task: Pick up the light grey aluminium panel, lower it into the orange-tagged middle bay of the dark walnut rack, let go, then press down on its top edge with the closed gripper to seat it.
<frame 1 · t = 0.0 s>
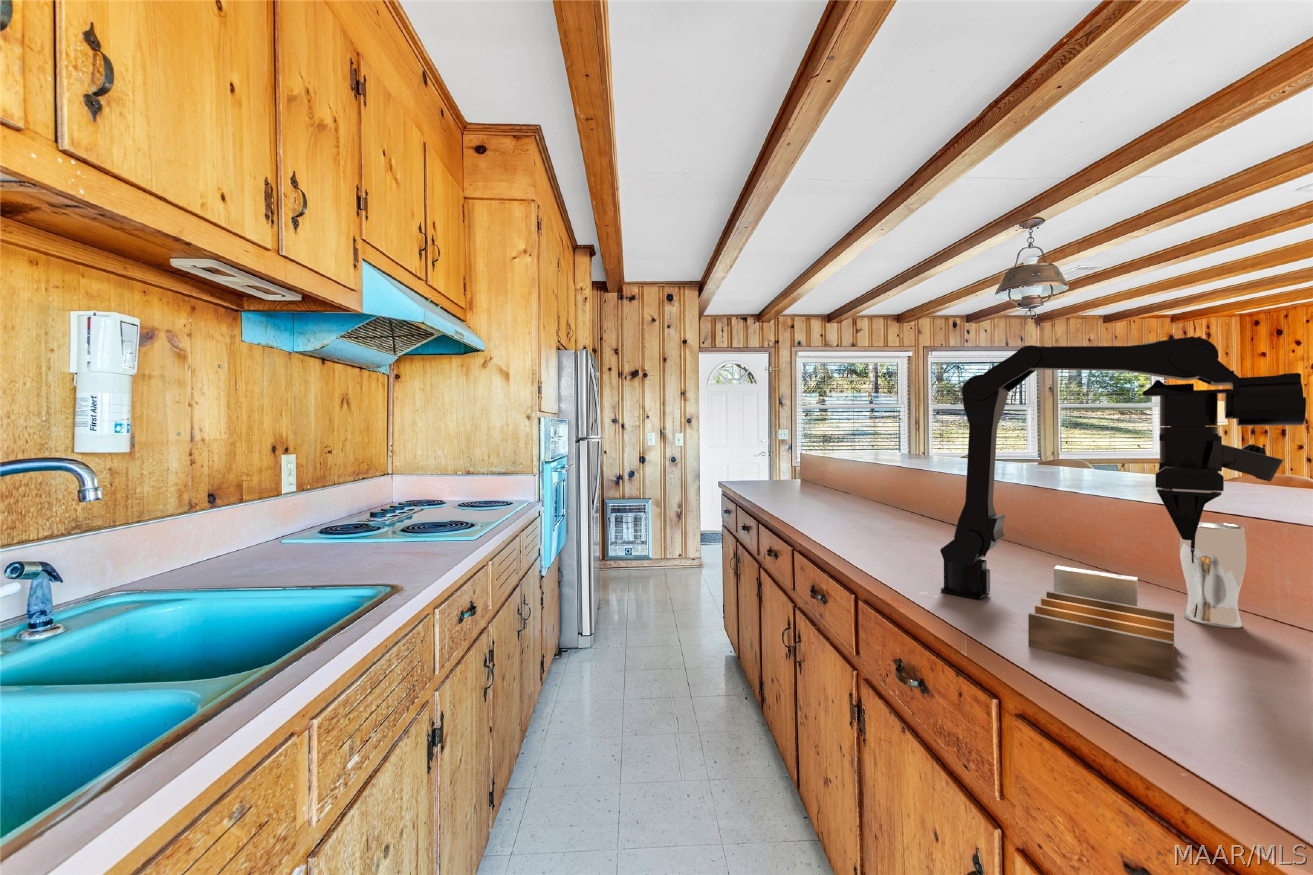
hand: (1187, 534, 72), 15 cm above the counter, tool pointing down, fingers open, 9 cm apart
beer glass: (1211, 622, 78), on the counter
walnut rack: (1101, 645, 70), on the counter
aluminium panel: (1094, 616, 81), on the counter
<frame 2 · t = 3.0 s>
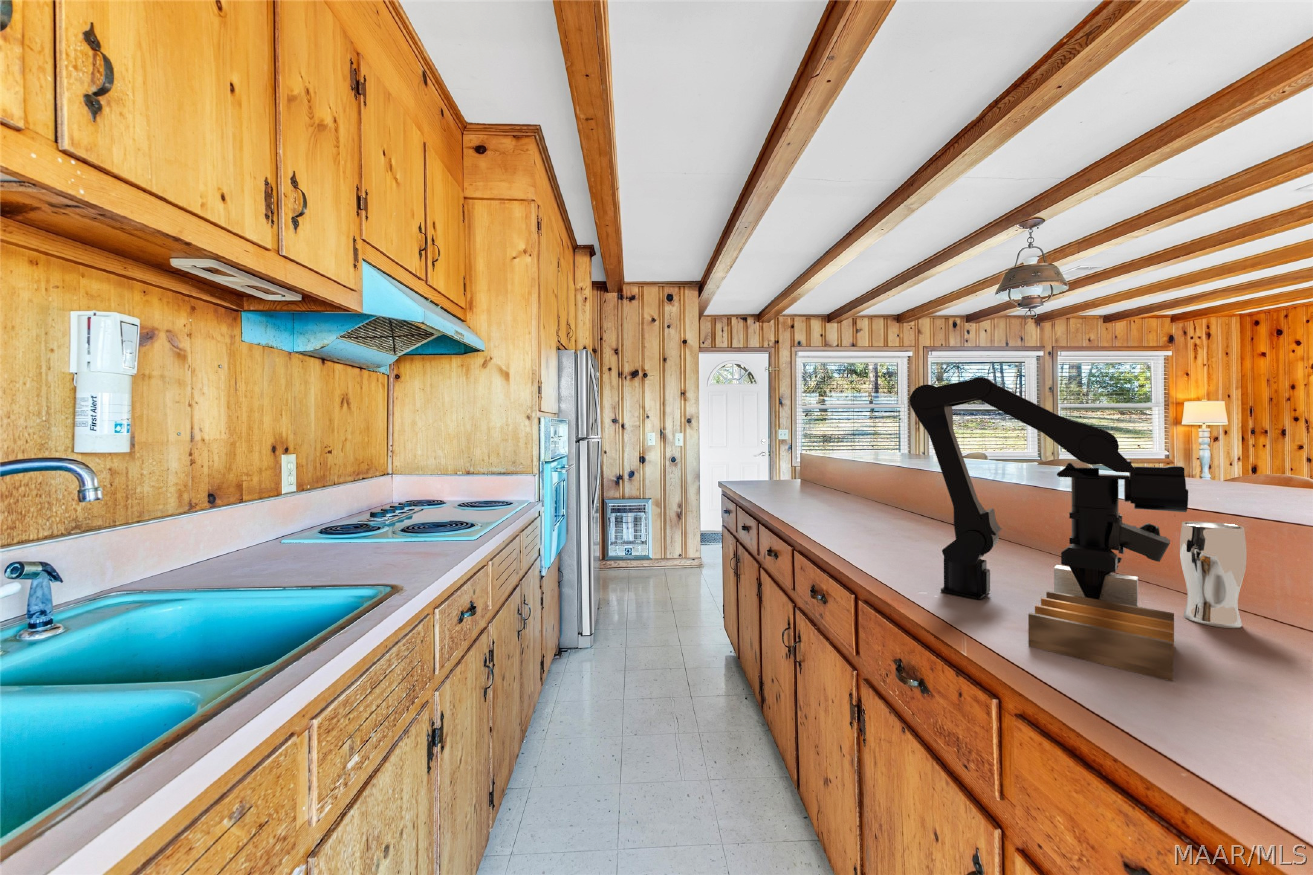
hand: (1094, 602, 81), 2 cm above the counter, tool pointing down, fingers closed on aluminium panel, 2 cm apart
aluminium panel: (1094, 615, 81), on the counter, touching gripper
everything else where it was.
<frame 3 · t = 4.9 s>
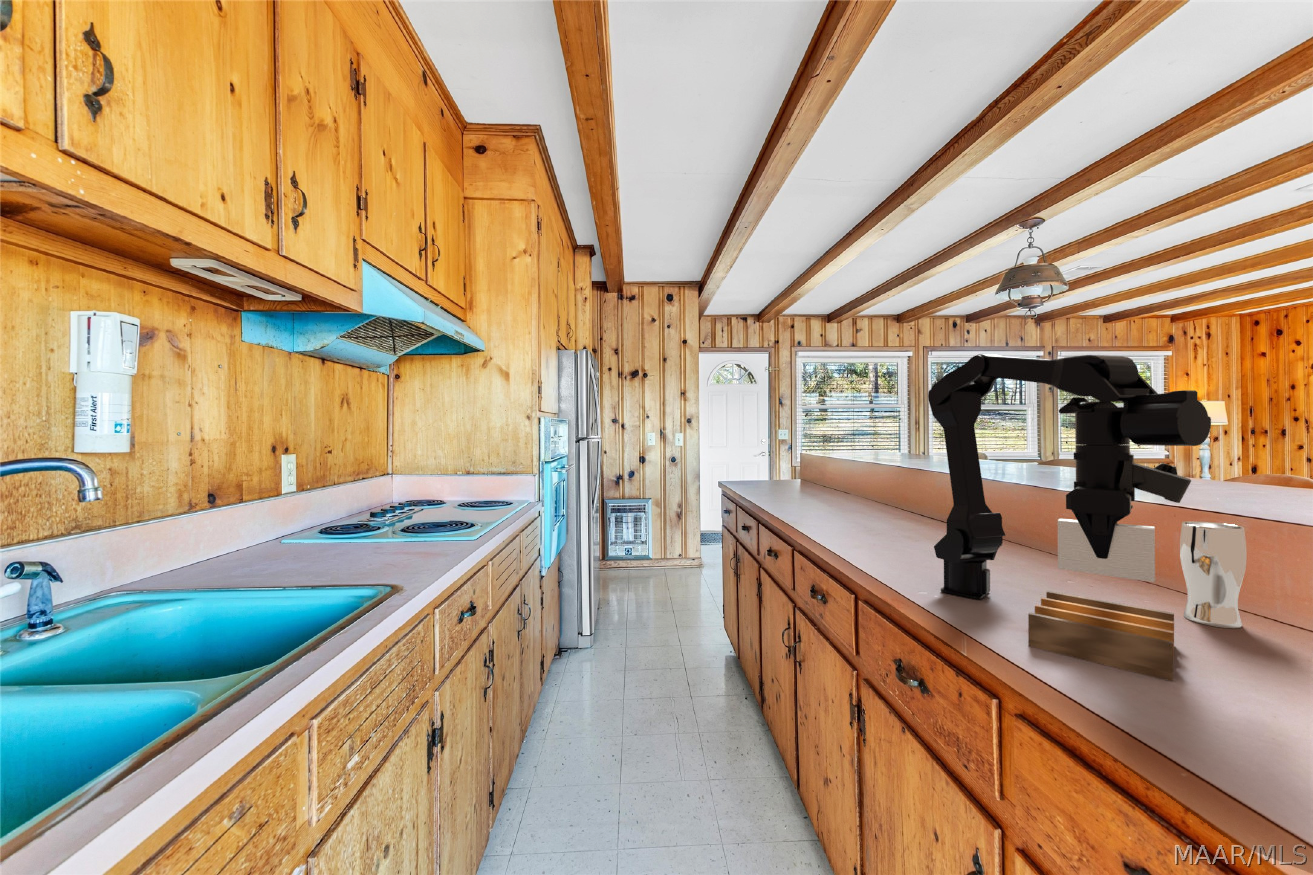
hand: (1102, 556, 71), 12 cm above the counter, tool pointing down, fingers closed on aluminium panel, 2 cm apart
aluminium panel: (1104, 573, 70), point 10 cm above the counter, touching gripper
everything else where it was.
when the fingers open (5 cm above the counter, at t = 6.8 s): aluminium panel drops 2 cm, resting on walnut rack.
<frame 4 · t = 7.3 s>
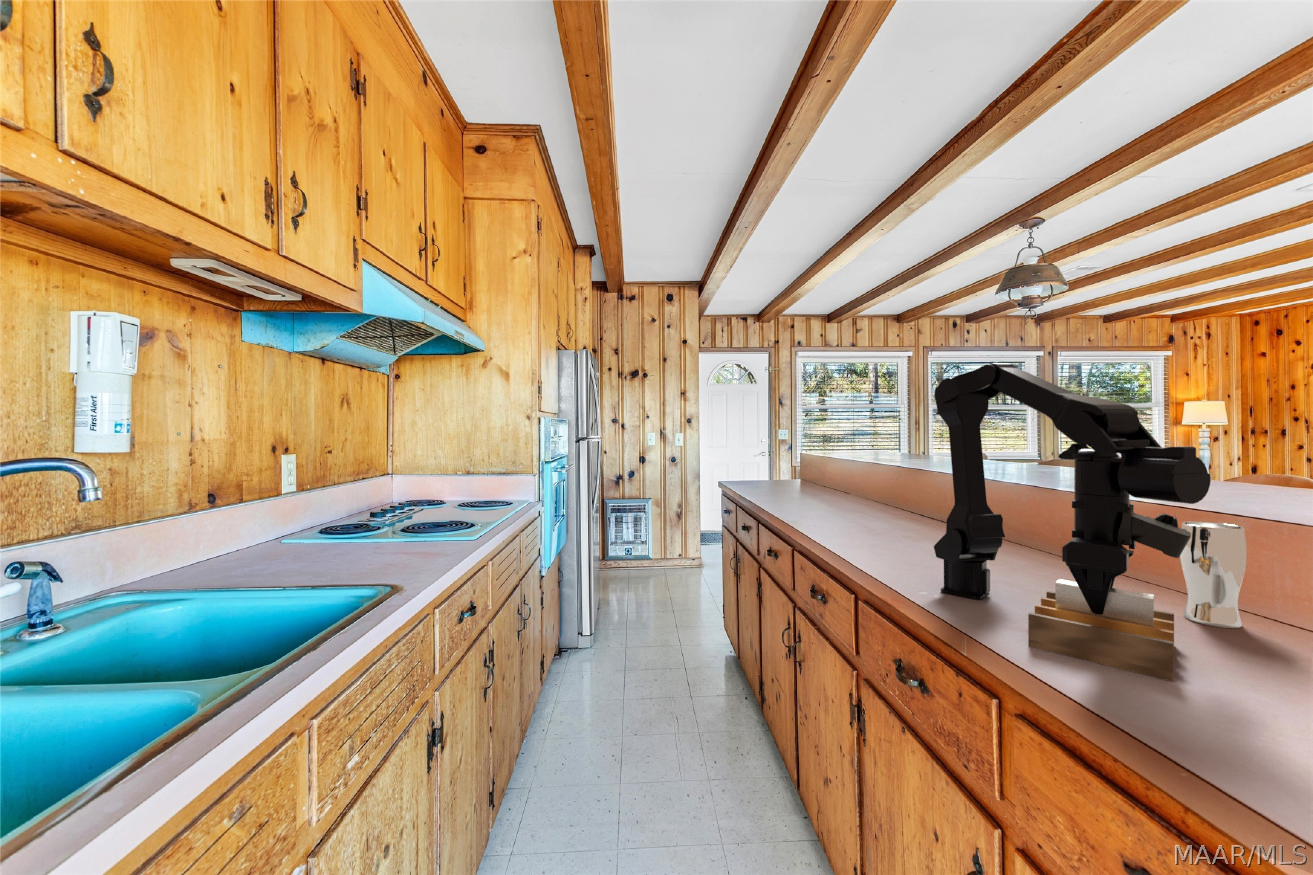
hand: (1100, 606, 70), 5 cm above the counter, tool pointing down, fingers open, 8 cm apart
aluminium panel: (1102, 638, 70), point 1 cm above the counter, touching walnut rack
everything else where it was.
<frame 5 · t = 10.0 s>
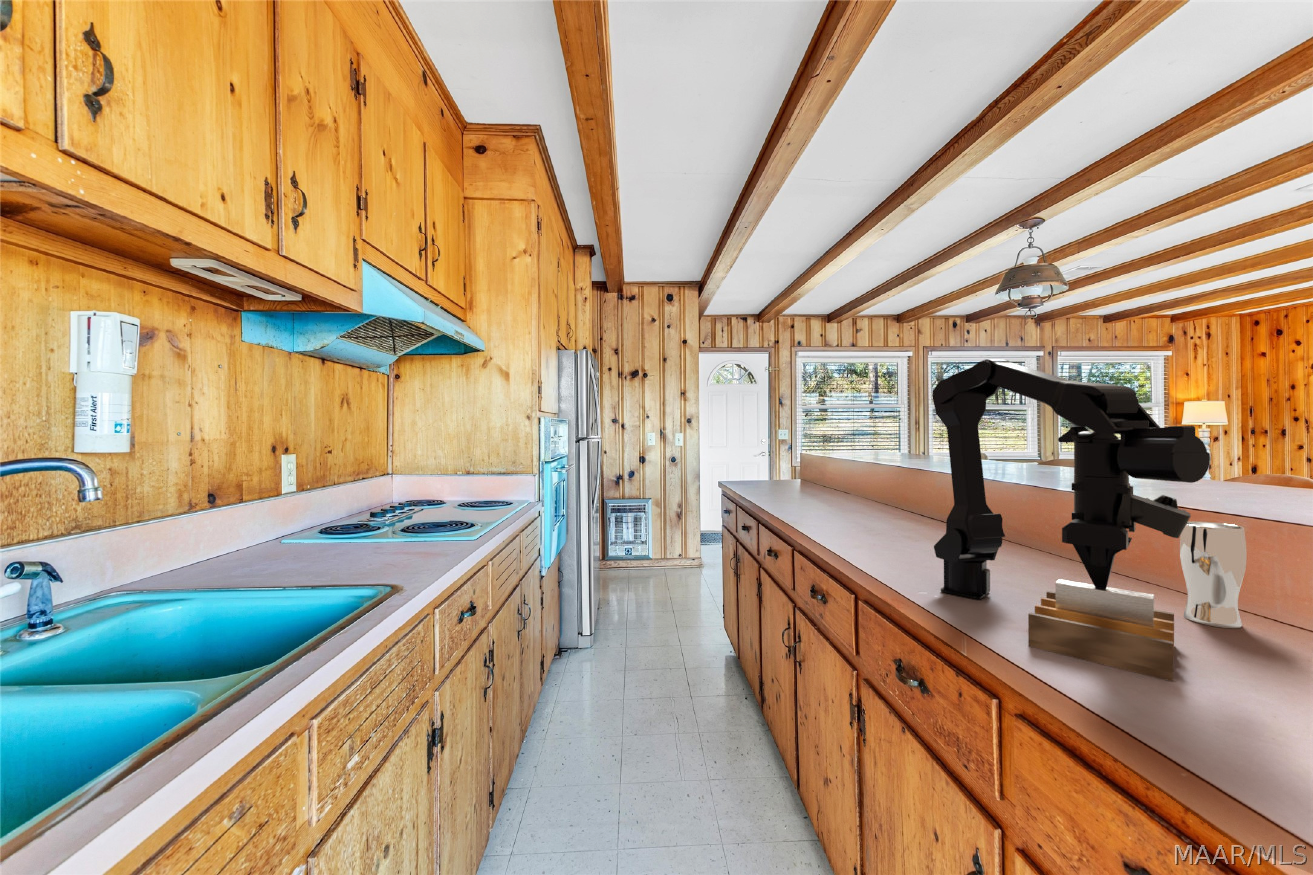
hand: (1100, 588, 70), 8 cm above the counter, tool pointing down, fingers closed, pressing on aluminium panel
aluminium panel: (1102, 638, 70), point 1 cm above the counter, touching gripper, walnut rack
everything else where it was.
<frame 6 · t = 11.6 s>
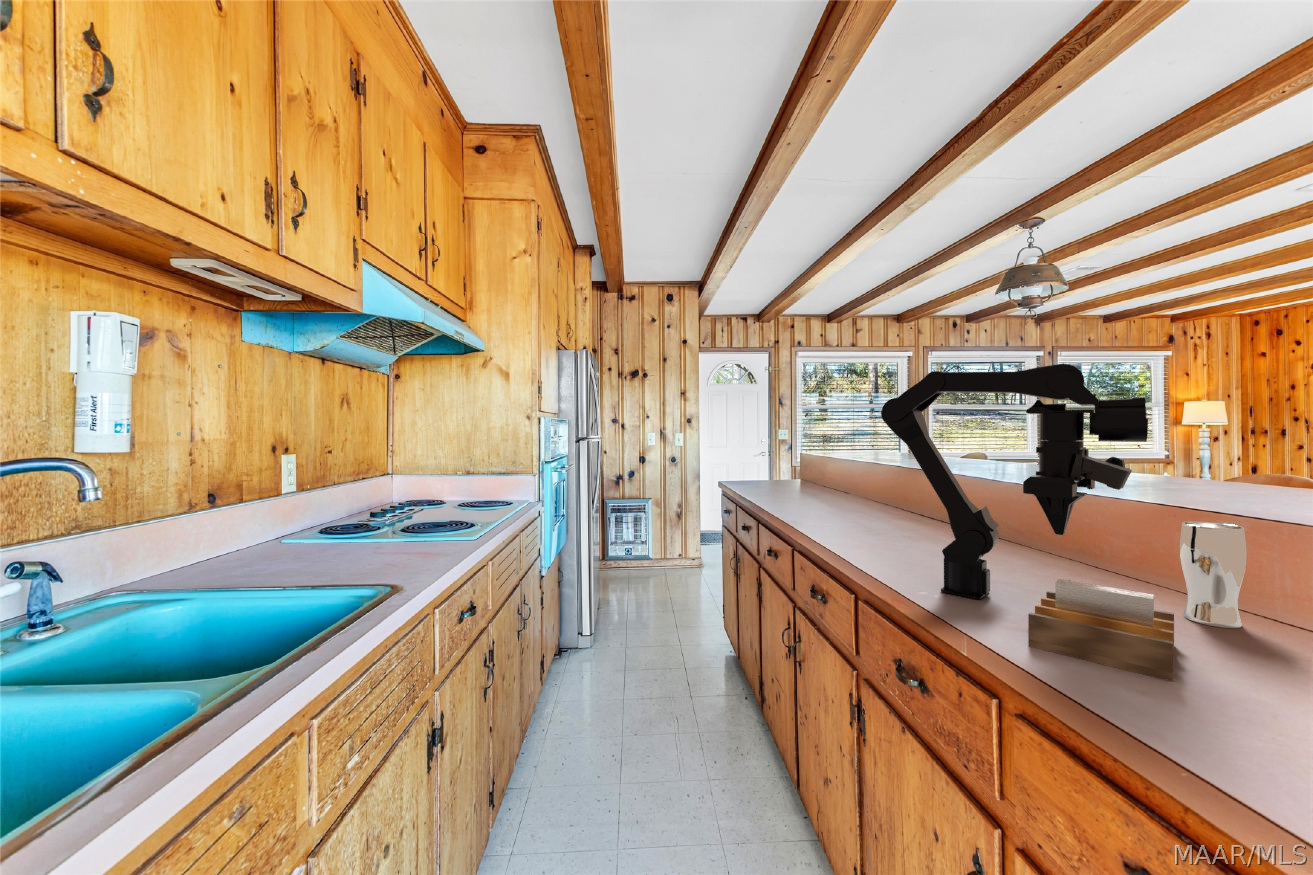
hand: (1059, 534, 84), 12 cm above the counter, tool pointing down, fingers closed
aluminium panel: (1102, 638, 70), point 1 cm above the counter, touching walnut rack
everything else where it was.
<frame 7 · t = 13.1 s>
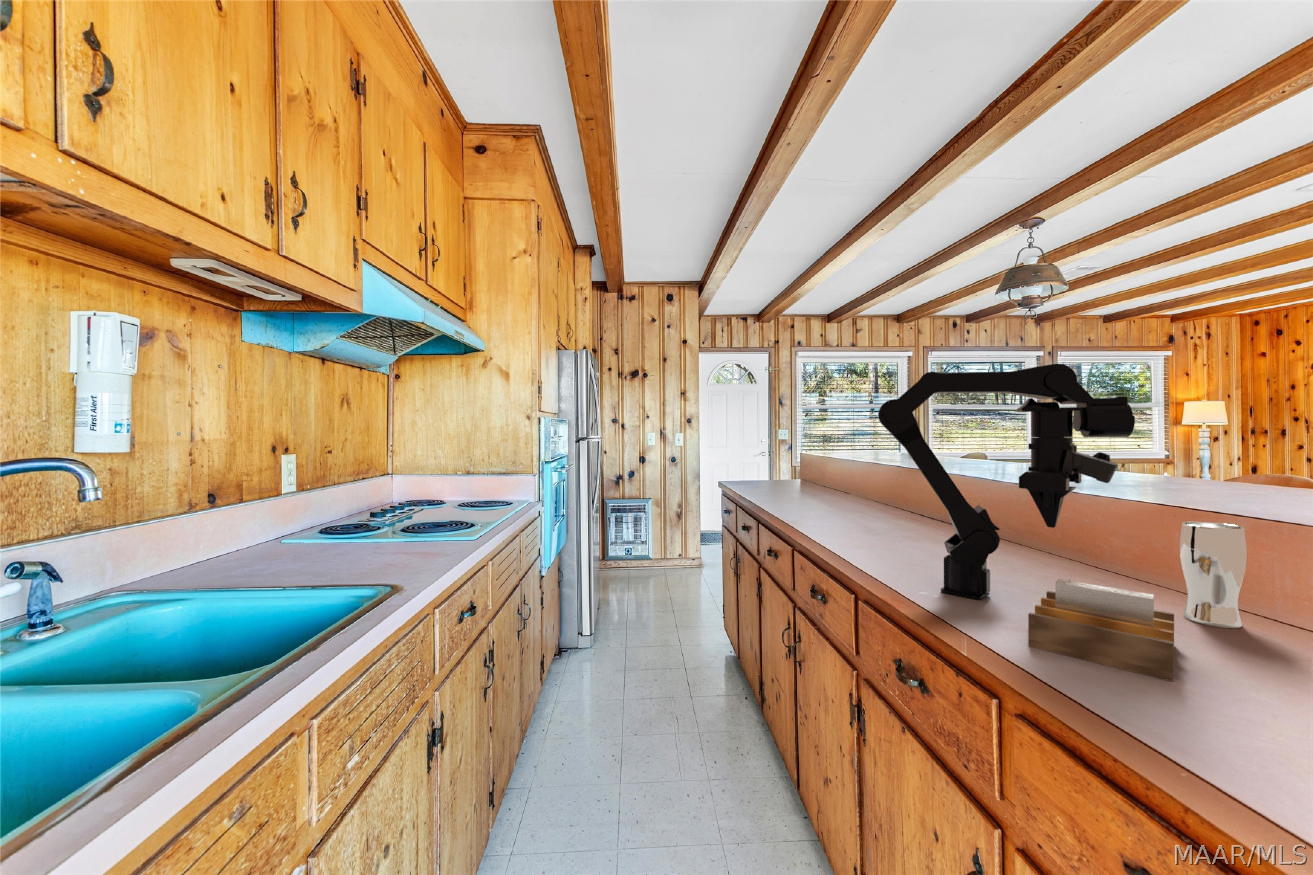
hand: (1051, 527, 88), 13 cm above the counter, tool pointing down, fingers closed
nothing on the counter moved.
at the end: aluminium panel 0.2 cm off-centre on the walnut rack, point 1.0 cm above the walnut rack's base; aluminium panel tilted 0°; the gripper is holding nothing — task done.
